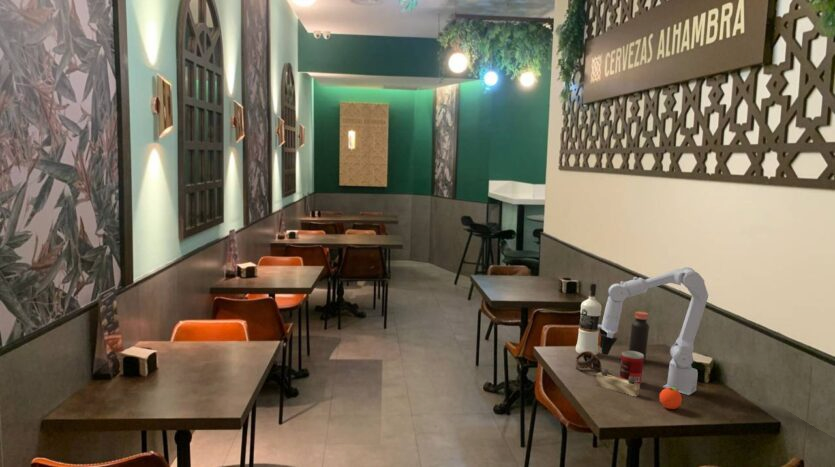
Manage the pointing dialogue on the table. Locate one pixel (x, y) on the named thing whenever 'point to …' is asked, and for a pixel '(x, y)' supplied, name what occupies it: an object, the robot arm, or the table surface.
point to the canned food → (631, 365)
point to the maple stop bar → (617, 383)
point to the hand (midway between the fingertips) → (603, 351)
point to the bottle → (639, 334)
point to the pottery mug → (588, 361)
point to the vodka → (589, 323)
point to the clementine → (670, 398)
